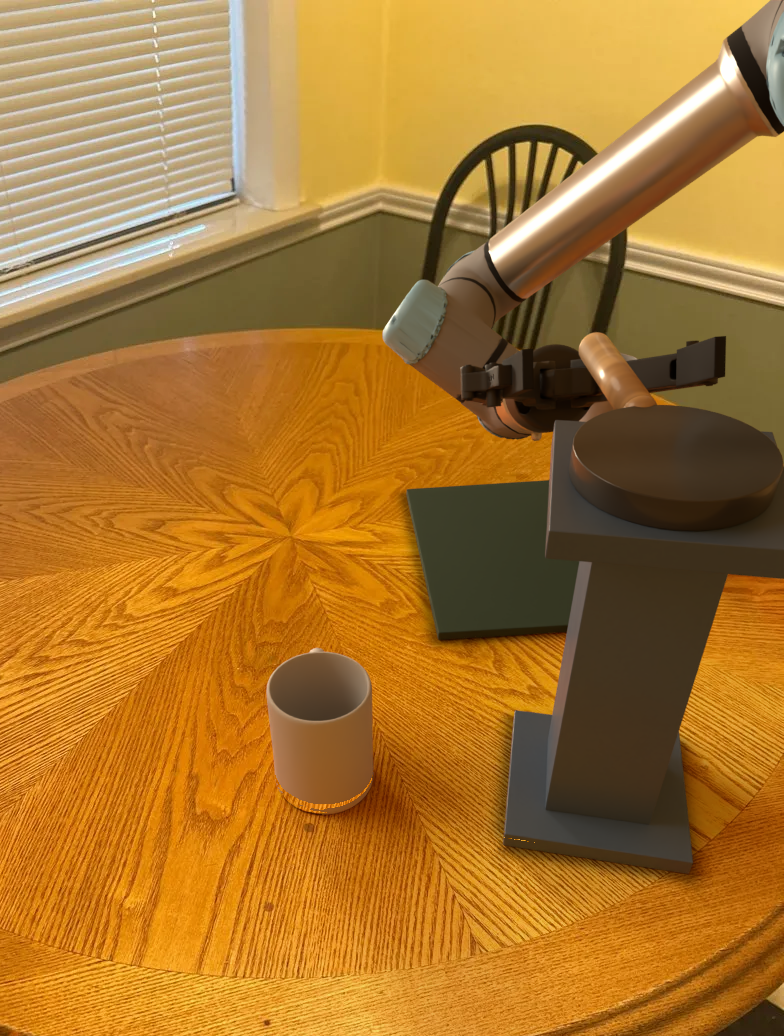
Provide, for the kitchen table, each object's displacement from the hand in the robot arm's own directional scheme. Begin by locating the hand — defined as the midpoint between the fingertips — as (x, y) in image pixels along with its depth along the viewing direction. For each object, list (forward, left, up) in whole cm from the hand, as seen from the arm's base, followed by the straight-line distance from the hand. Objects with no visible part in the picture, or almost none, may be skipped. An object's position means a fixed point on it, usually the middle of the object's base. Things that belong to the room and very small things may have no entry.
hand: (624, 362), depth 61 cm
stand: (-3, +10, -33) cm, 35 cm away
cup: (-4, -53, -33) cm, 62 cm away
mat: (+7, -23, -33) cm, 41 cm away
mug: (+20, +11, -33) cm, 40 cm away
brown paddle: (-1, +4, -3) cm, 5 cm away
